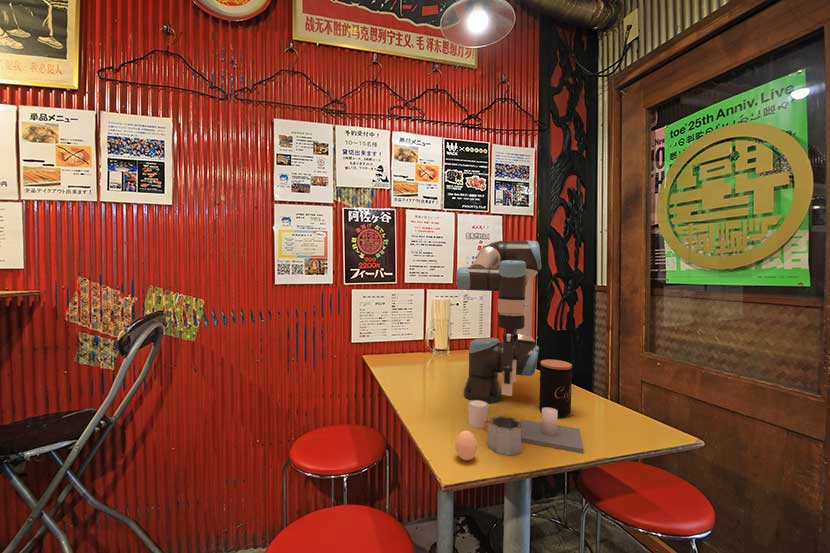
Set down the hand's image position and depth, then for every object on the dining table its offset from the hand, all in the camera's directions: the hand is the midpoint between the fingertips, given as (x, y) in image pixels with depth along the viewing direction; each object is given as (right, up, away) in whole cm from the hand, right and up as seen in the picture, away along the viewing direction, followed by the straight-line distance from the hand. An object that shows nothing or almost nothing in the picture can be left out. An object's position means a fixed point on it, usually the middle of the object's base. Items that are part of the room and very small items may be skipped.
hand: (509, 387), depth 102 cm
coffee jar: (+23, -17, +26) cm, 39 cm away
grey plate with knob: (+14, -17, +7) cm, 23 cm away
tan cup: (-7, -17, +15) cm, 23 cm away
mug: (-1, -17, 0) cm, 17 cm away
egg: (-14, -17, -7) cm, 23 cm away
